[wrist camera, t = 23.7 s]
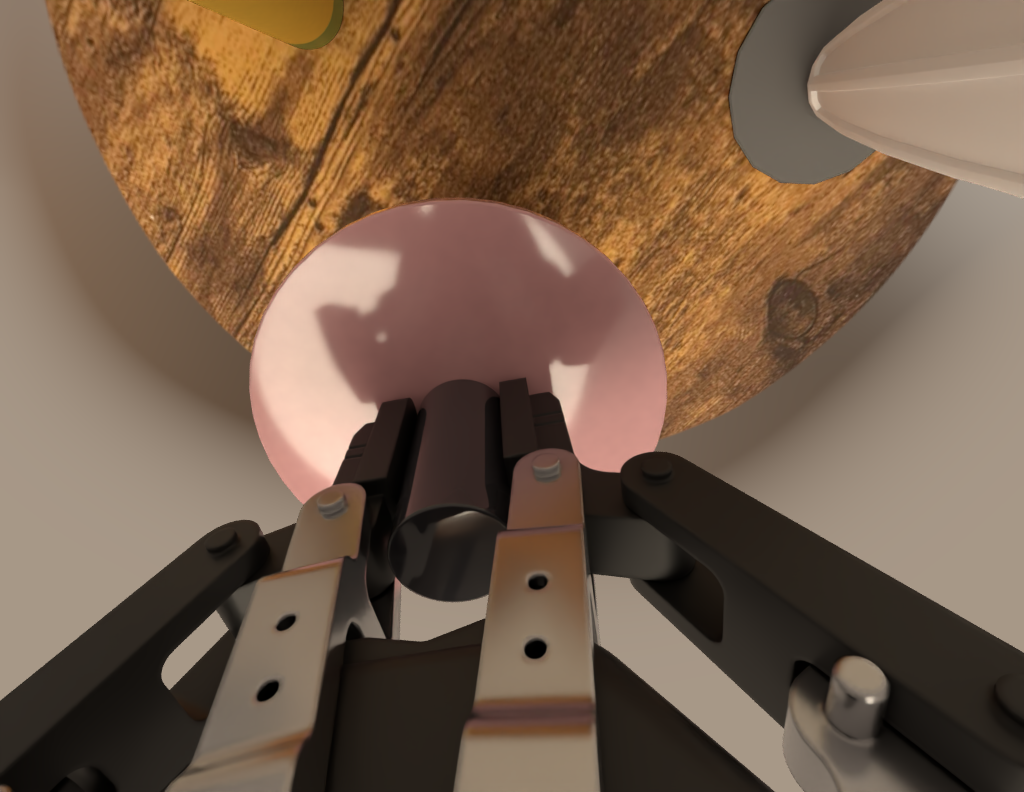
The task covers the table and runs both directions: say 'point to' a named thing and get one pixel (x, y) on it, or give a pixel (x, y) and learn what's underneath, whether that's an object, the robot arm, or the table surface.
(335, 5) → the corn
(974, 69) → the cup
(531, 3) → the table surface
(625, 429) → the lid
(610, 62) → the table surface
